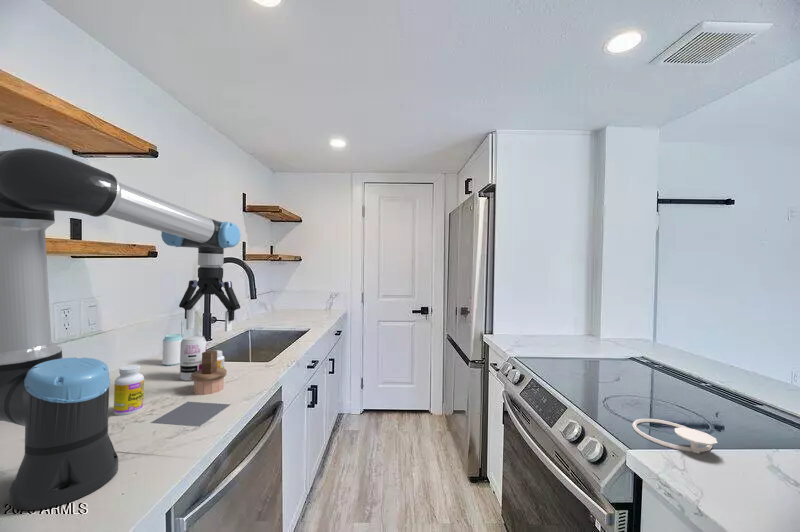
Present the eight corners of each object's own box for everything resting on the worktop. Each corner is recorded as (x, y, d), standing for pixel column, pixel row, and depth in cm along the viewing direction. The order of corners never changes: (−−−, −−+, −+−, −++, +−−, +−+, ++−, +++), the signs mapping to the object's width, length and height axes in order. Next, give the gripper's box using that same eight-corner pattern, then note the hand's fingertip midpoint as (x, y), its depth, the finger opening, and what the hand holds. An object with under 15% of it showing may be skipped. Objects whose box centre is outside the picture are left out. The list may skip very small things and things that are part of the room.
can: (186, 362, 145) (187, 334, 145) (172, 366, 139) (173, 337, 138) (172, 360, 147) (173, 333, 147) (158, 365, 140) (158, 336, 140)
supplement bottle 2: (203, 381, 123) (204, 353, 123) (212, 376, 129) (213, 349, 129) (218, 382, 123) (218, 353, 123) (227, 376, 128) (227, 350, 128)
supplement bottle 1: (126, 418, 94) (127, 371, 94) (107, 415, 95) (108, 369, 95) (149, 408, 100) (150, 364, 100) (130, 405, 102) (131, 362, 101)
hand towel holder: (677, 408, 100) (746, 445, 79) (677, 423, 100) (746, 464, 79) (619, 405, 100) (672, 442, 80) (618, 420, 100) (672, 460, 80)
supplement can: (199, 372, 132) (200, 334, 132) (209, 377, 128) (210, 337, 127) (175, 378, 126) (176, 337, 126) (185, 383, 121) (186, 341, 121)
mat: (199, 427, 89) (199, 426, 89) (150, 424, 91) (150, 422, 91) (230, 405, 103) (230, 404, 103) (187, 402, 104) (187, 401, 104)
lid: (213, 382, 109) (214, 356, 109) (183, 380, 110) (184, 355, 110) (232, 372, 119) (233, 348, 119) (205, 370, 120) (205, 347, 120)
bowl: (212, 396, 110) (213, 381, 110) (187, 394, 111) (188, 379, 111) (228, 386, 118) (228, 372, 118) (205, 385, 119) (205, 371, 119)
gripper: (252, 267, 116) (250, 329, 116) (184, 265, 119) (182, 326, 119) (239, 267, 109) (238, 333, 109) (167, 265, 111) (165, 330, 111)
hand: (209, 329), depth 114 cm, fingers open, 13 cm apart
